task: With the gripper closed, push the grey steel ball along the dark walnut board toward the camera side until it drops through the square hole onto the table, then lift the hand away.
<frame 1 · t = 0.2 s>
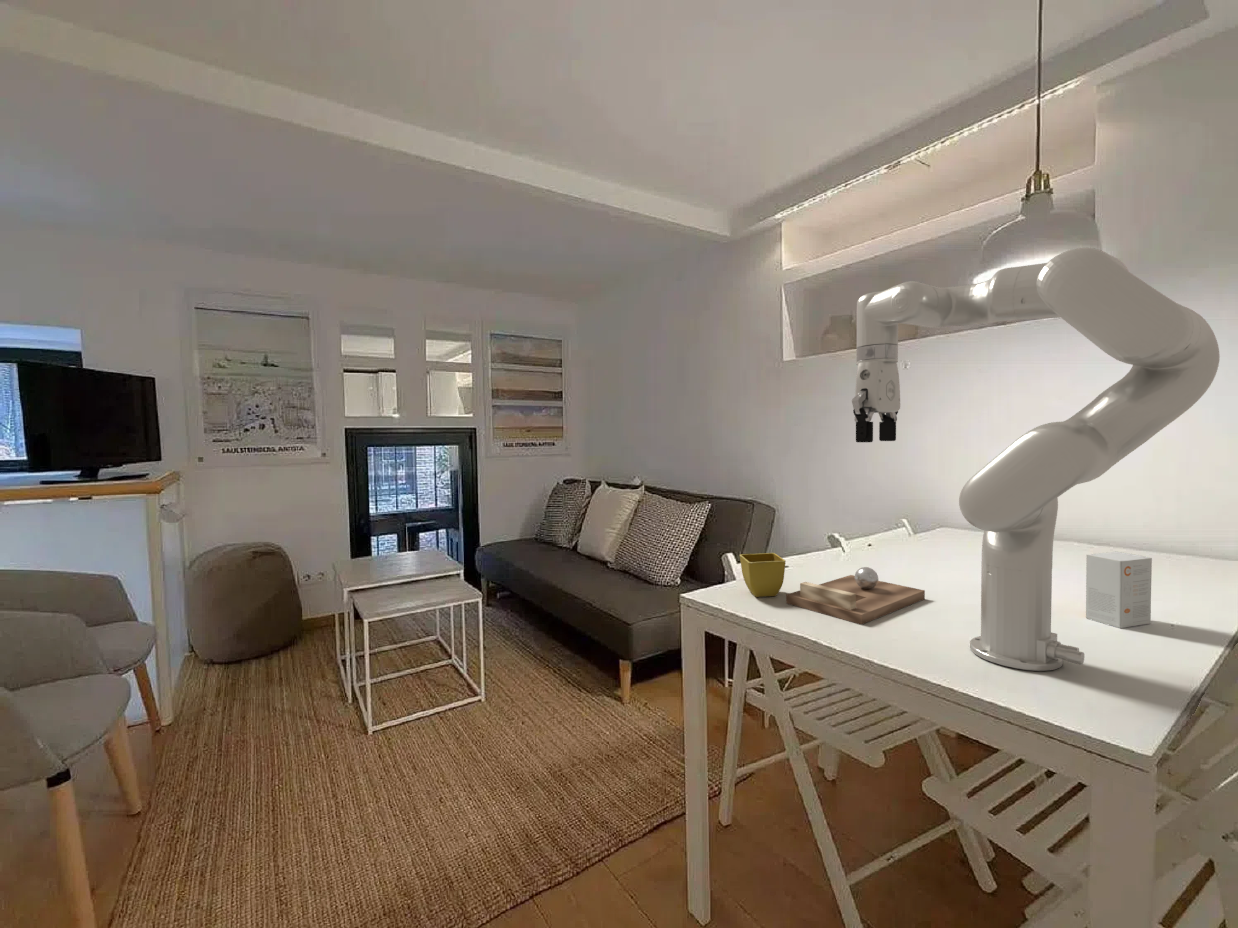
hand: (876, 441, 109), 36 cm above the table, tool pointing down, fingers open, 9 cm apart
walnut board: (855, 601, 122), on the table
flower pot: (762, 594, 129), on the table
small box: (1117, 622, 106), on the table
steel ball: (866, 578, 124), point 4 cm above the table, touching walnut board
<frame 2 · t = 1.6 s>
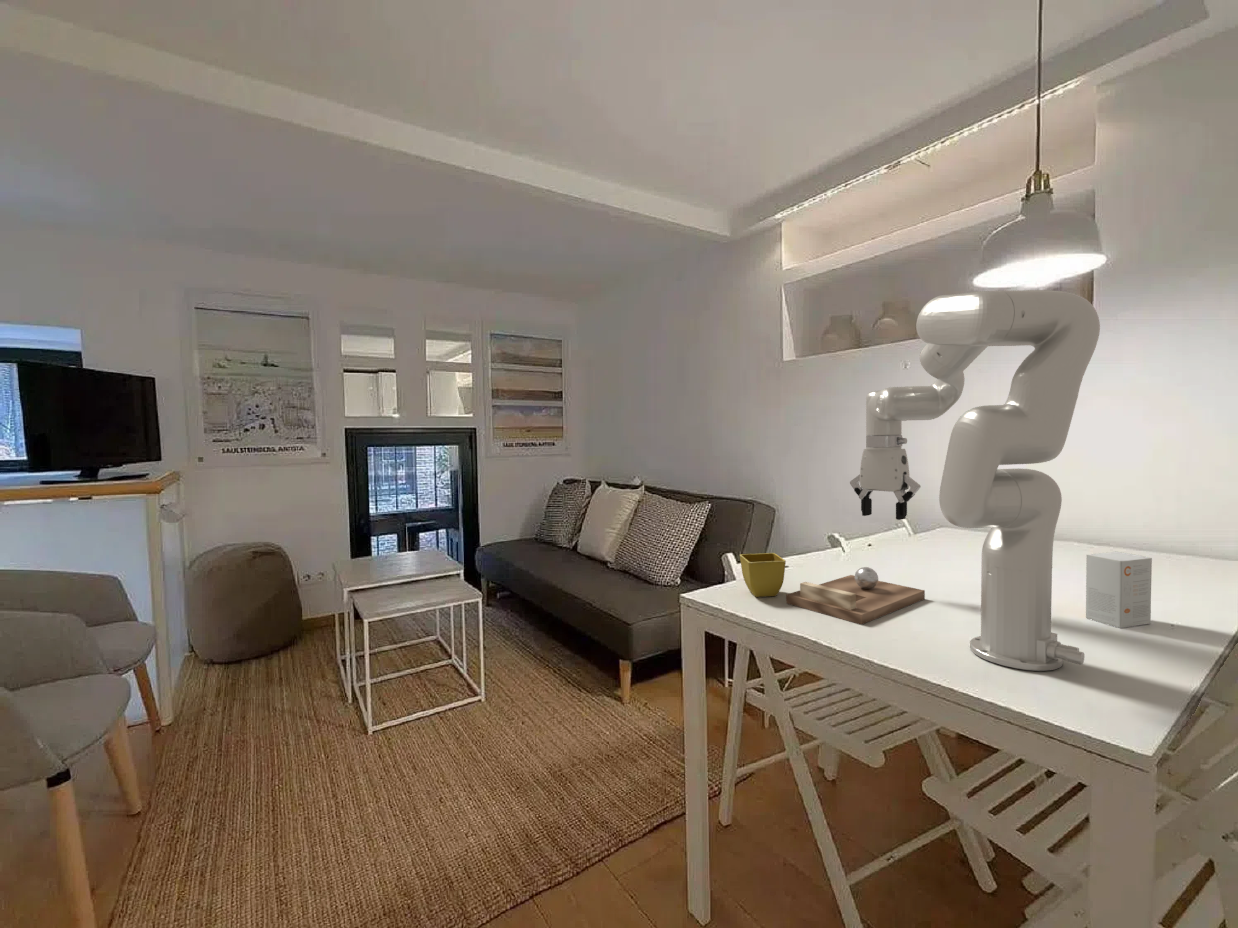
hand: (883, 516, 128), 18 cm above the table, tool pointing down, fingers open, 7 cm apart
nothing on the table moved.
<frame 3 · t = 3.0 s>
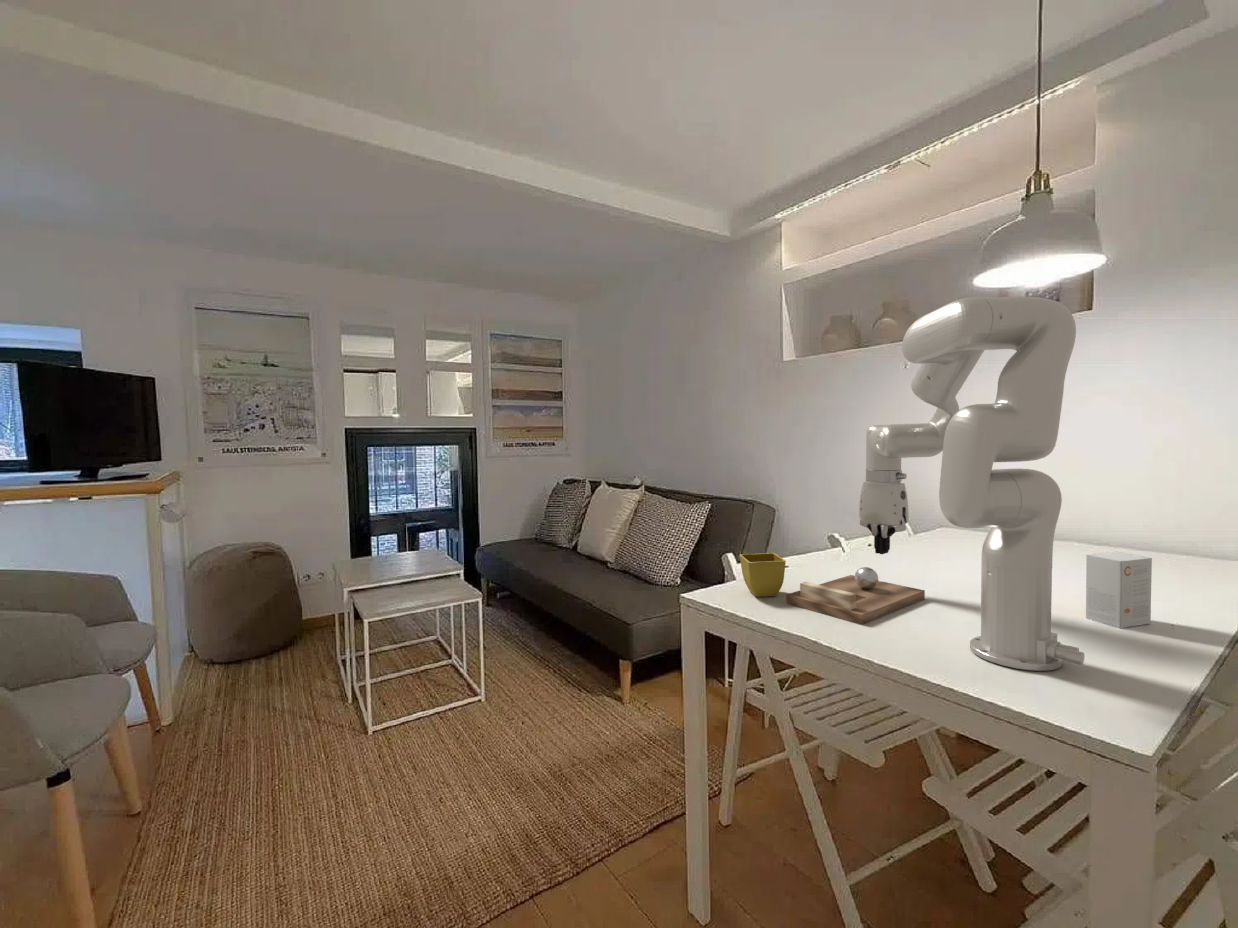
hand: (881, 552, 129), 9 cm above the table, tool pointing down, fingers closed
nothing on the table moved.
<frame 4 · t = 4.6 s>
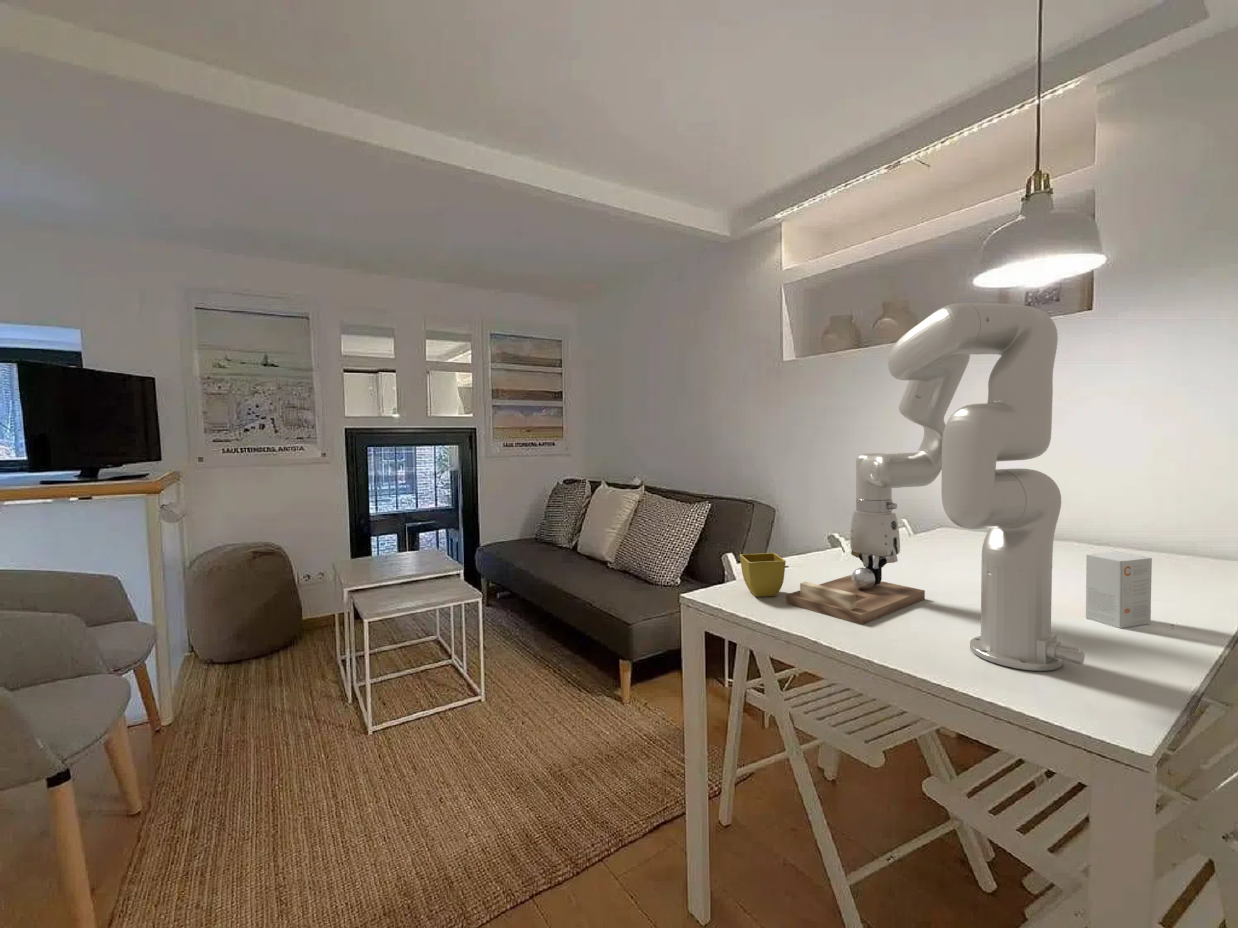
hand: (873, 583, 126), 3 cm above the table, tool pointing down, fingers closed
steel ball: (863, 578, 124), point 4 cm above the table, tilted 22°, touching walnut board
everything else where it was.
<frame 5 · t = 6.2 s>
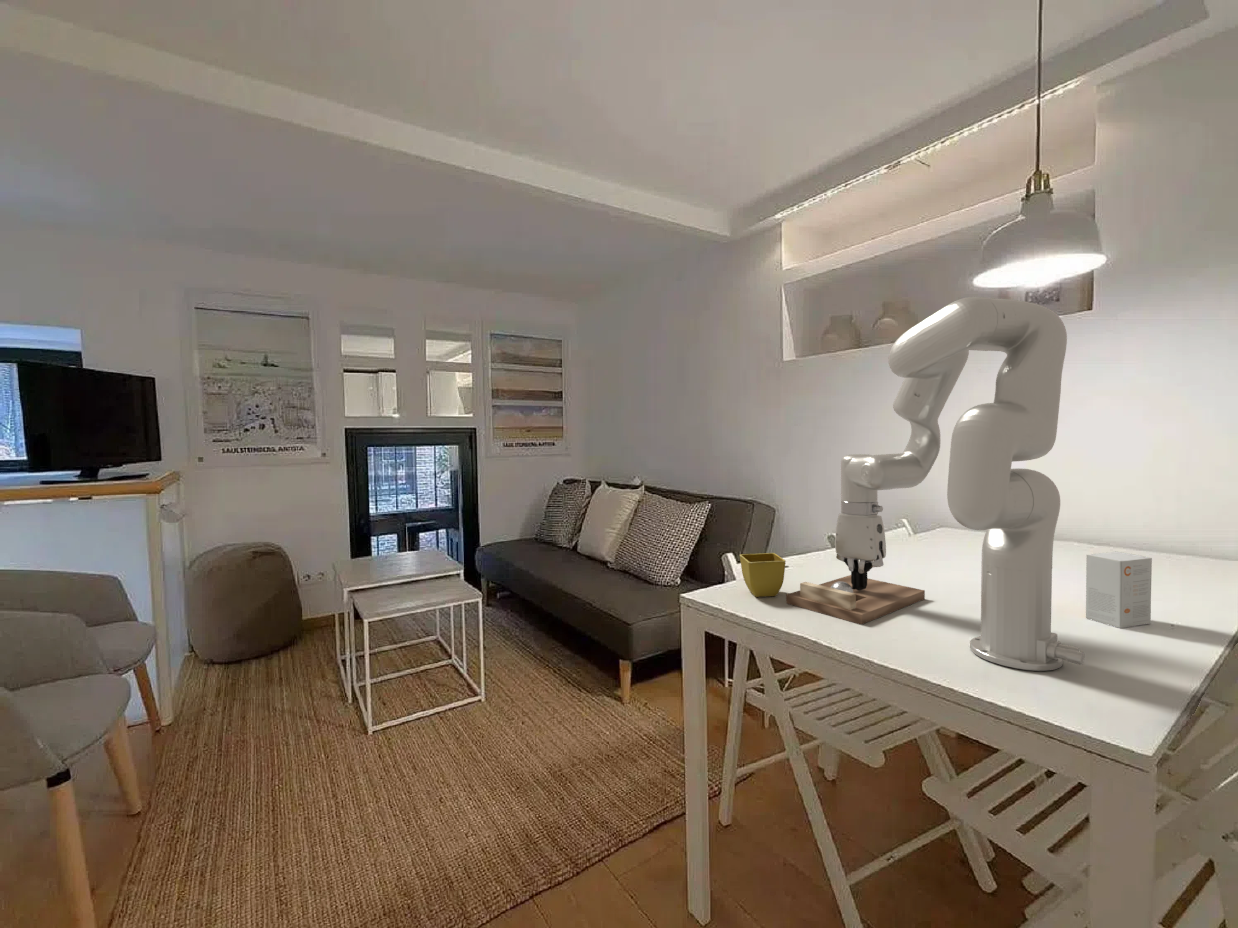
hand: (859, 588, 123), 3 cm above the table, tool pointing down, fingers closed
steel ball: (841, 592, 120), point 2 cm above the table, tilted 145°
everything else where it was.
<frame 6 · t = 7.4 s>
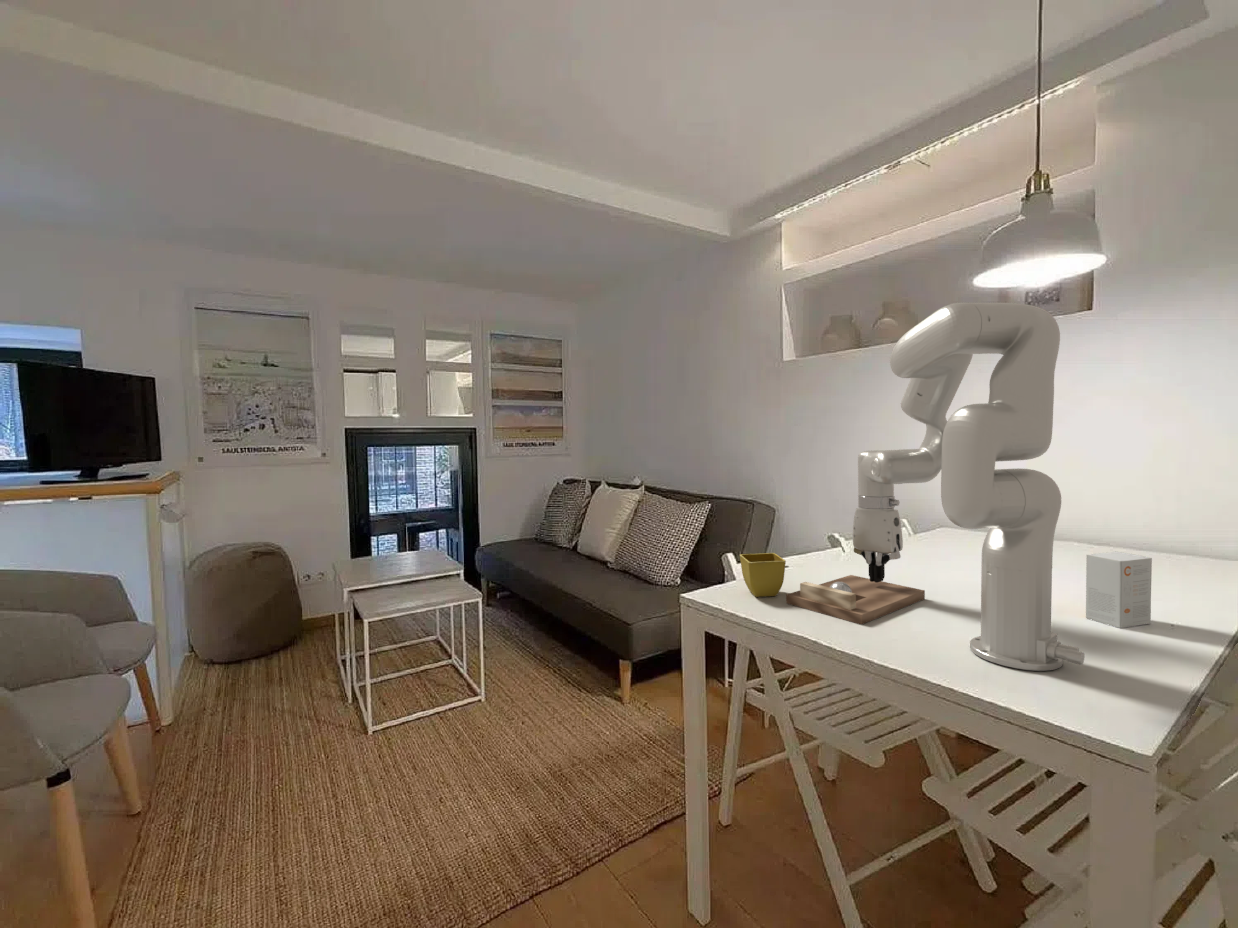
hand: (876, 580, 126), 3 cm above the table, tool pointing down, fingers closed
steel ball: (840, 593, 120), point 2 cm above the table, tilted 134°
everything else where it was.
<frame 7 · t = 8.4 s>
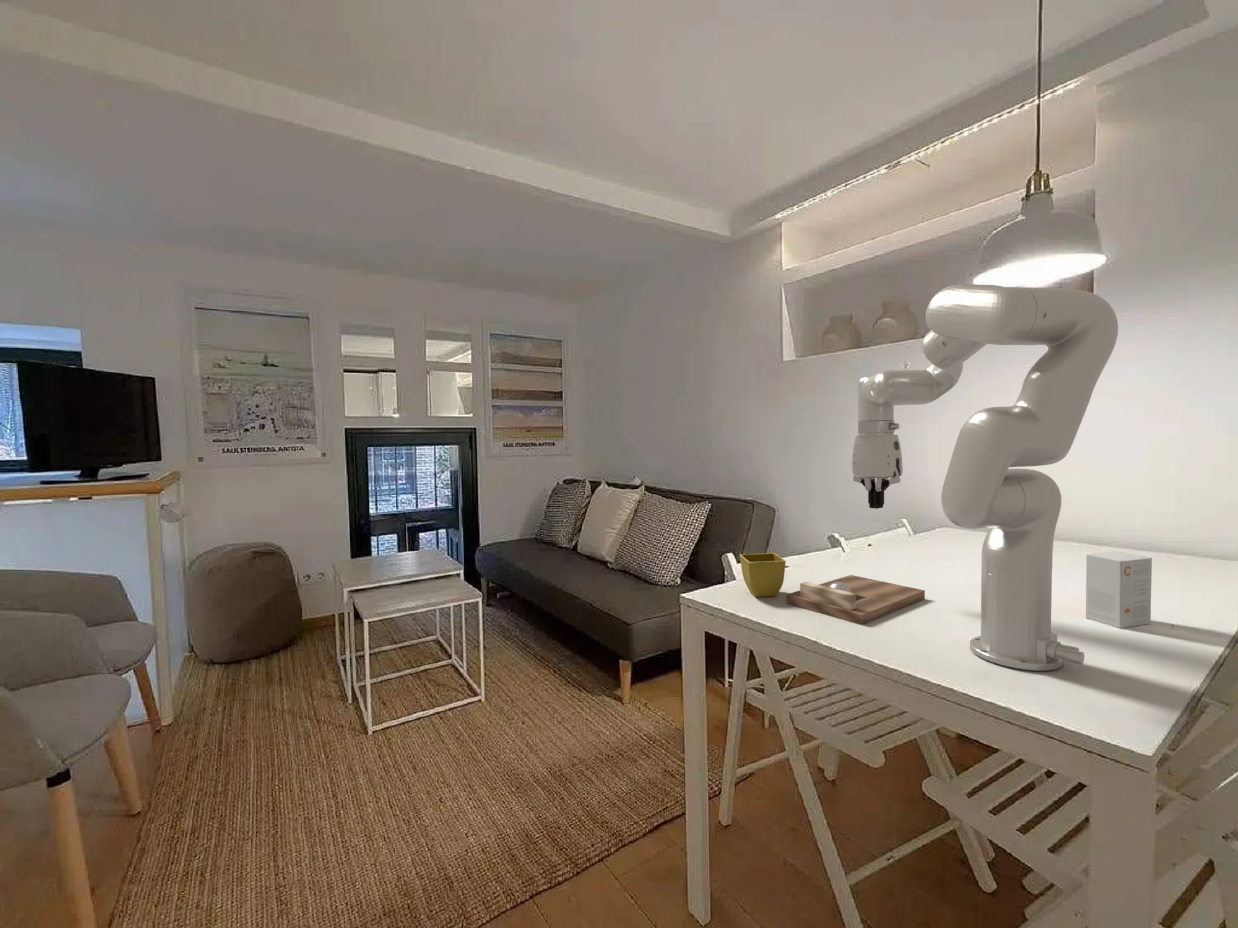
hand: (876, 507, 126), 21 cm above the table, tool pointing down, fingers closed
steel ball: (839, 593, 120), point 2 cm above the table, tilted 126°
everything else where it was.
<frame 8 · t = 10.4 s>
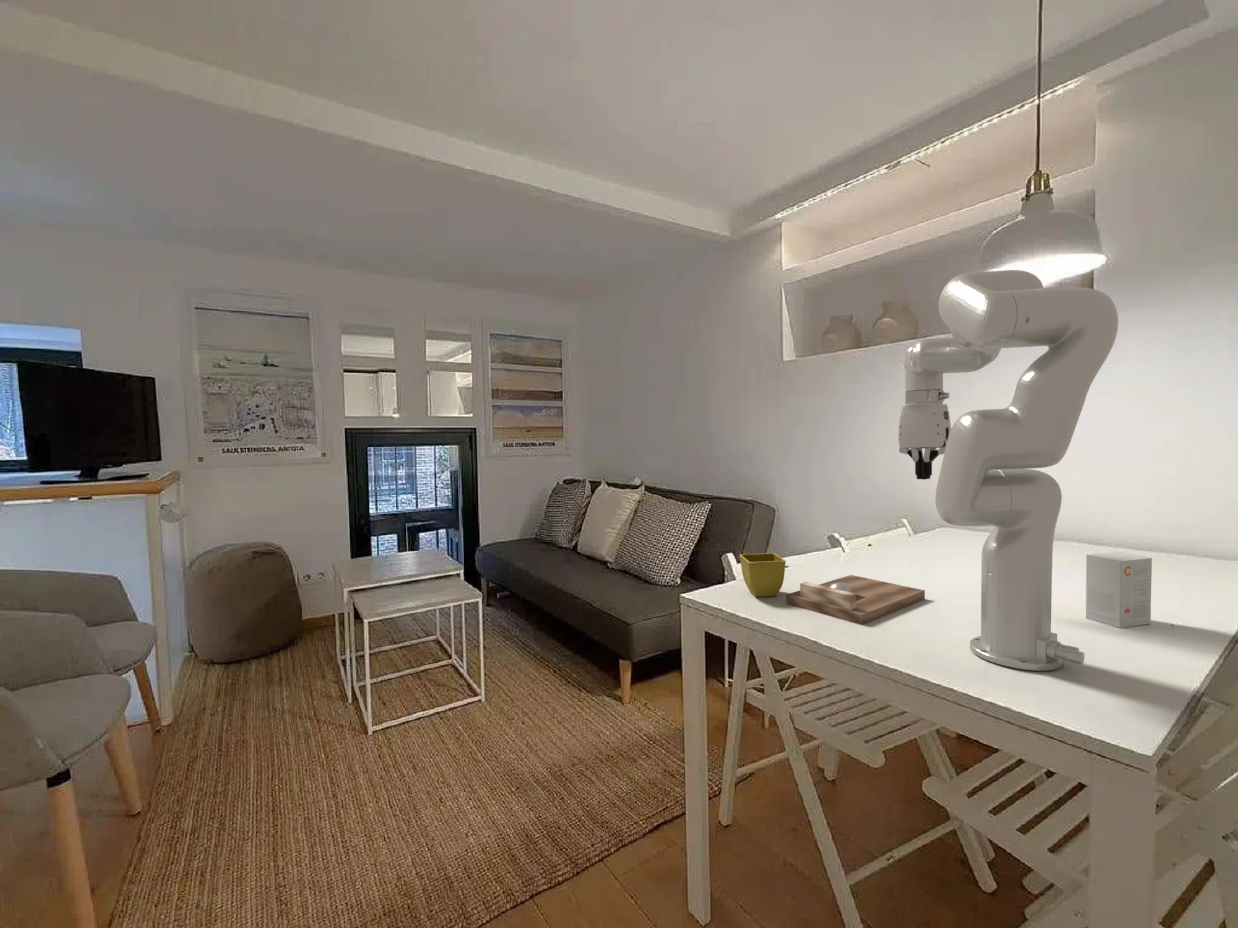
hand: (923, 478, 124), 27 cm above the table, tool pointing down, fingers closed
steel ball: (839, 593, 120), point 2 cm above the table, tilted 119°
everything else where it was.
at the end: steel ball 0.8 cm from the target spot on the walnut board, point 2.5 cm above the walnut board's base; steel ball touching table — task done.
